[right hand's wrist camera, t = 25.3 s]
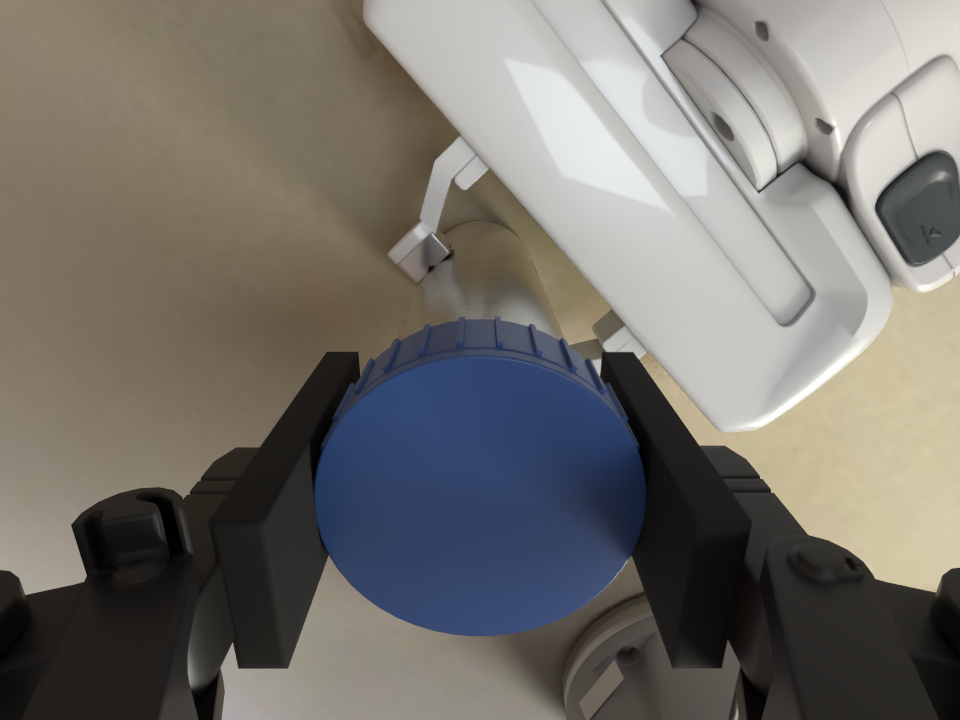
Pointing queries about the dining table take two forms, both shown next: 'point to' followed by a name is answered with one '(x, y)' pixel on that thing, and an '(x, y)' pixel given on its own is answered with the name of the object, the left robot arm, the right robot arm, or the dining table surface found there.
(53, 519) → the dining table surface
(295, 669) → the dining table surface
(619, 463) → the lid
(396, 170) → the dining table surface
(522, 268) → the silver metal cylinder
